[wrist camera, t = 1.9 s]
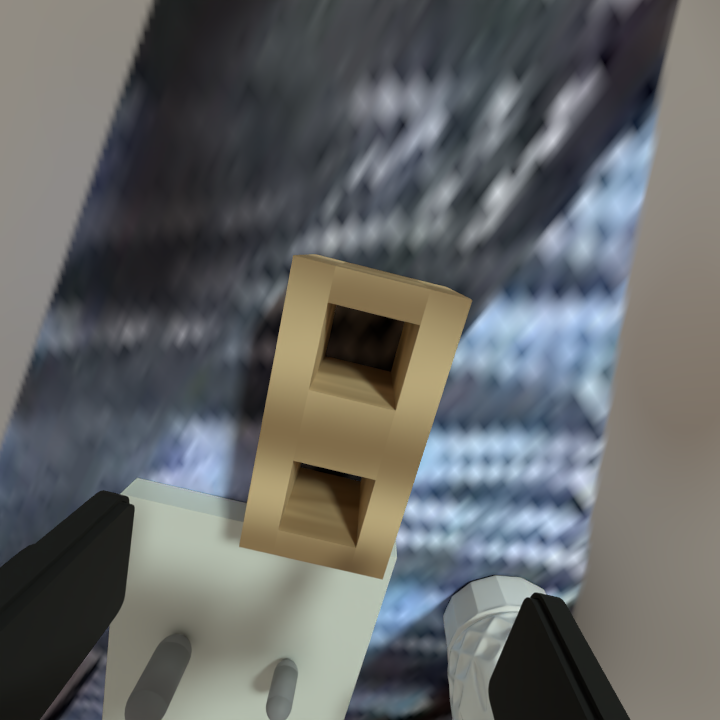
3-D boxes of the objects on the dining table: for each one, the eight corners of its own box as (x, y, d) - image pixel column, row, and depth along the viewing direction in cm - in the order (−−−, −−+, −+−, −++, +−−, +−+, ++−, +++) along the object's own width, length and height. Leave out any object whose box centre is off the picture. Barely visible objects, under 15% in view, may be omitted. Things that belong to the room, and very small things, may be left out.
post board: (137, 477, 22) (51, 559, 16) (395, 537, 22) (402, 637, 16) (116, 700, 27) (44, 824, 21) (328, 746, 27) (315, 880, 21)
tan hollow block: (315, 254, 18) (293, 255, 13) (447, 287, 18) (472, 299, 14) (269, 480, 22) (238, 546, 17) (381, 507, 22) (382, 579, 17)
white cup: (425, 660, 25) (457, 922, 15) (441, 559, 23) (490, 787, 13) (550, 672, 25) (662, 944, 15) (578, 571, 22) (730, 811, 13)
